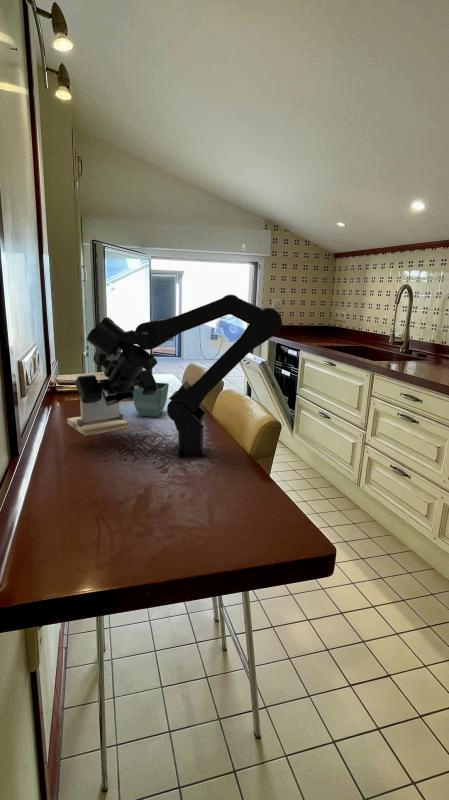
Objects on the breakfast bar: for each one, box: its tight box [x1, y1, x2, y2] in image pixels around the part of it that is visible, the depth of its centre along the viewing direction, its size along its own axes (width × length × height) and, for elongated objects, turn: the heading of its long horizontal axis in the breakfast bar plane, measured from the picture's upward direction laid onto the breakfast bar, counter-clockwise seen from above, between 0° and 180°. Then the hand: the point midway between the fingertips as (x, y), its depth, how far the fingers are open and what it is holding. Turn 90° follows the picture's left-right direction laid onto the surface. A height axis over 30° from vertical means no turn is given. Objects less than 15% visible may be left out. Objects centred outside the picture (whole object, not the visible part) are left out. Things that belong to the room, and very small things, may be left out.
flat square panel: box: [79, 394, 120, 425], centre depth 111 cm, size 2×10×10 cm, turn 130°
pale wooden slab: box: [66, 412, 130, 437], centre depth 114 cm, size 12×12×3 cm
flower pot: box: [132, 382, 170, 418], centre depth 125 cm, size 9×9×9 cm
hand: (107, 404), depth 107 cm, fingers closed
